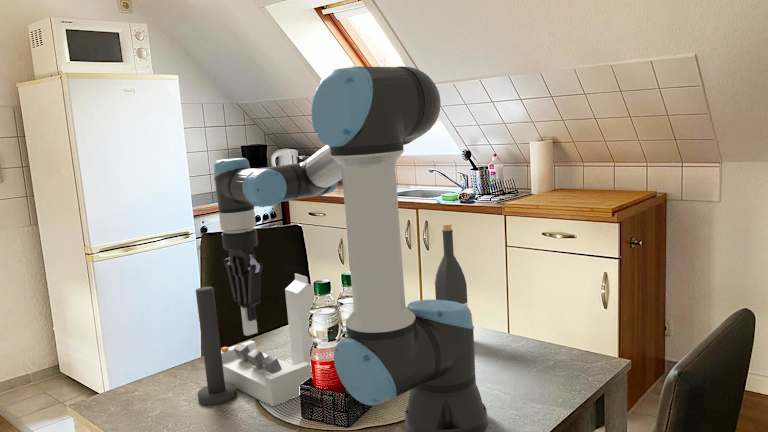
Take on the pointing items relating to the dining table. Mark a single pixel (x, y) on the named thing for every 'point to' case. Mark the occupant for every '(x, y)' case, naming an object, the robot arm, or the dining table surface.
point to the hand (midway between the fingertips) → (250, 333)
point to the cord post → (212, 352)
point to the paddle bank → (257, 358)
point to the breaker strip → (263, 377)
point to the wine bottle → (450, 273)
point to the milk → (299, 318)
